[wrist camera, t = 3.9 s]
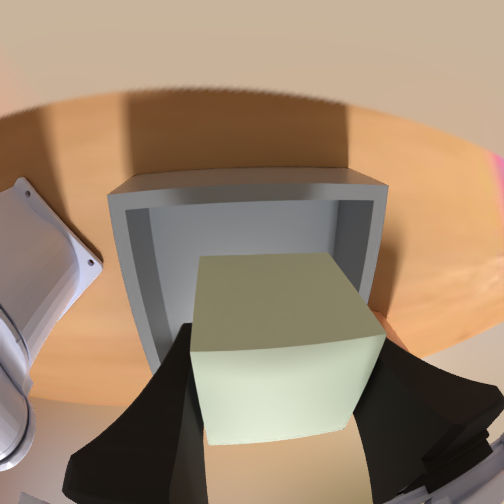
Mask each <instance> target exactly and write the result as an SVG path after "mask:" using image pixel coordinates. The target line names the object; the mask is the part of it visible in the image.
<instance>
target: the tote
mask: <svg viewBox="0 0 504 504" xmlns="http://www.w3.org/2000/svg"><path fill="white" fill-rule="evenodd" d="M387 195H388V185H386V184H384V183H382V182H380V181H377V180H375V179H373V178H371V177H368V176H366V175H364V174H361V173H359V172H357V171H354V170H352V169H349V168H332V167H237V168H214V169H197V170H183V171H171V172H160V173H150V174H140V175H135V176H133V177H132V178H130V179H129V180H127V181H126V182H125V183H123V184H122V185H120V186H119V187H118V188H116V189H115V190H113V191H112V192H111V193H109V194H108V195H107V198H108V204H109V211H110V217H111V223H112V228H113V233H114V239H115V244H116V249H117V253H118V258H119V263H120V267H121V271H122V276H123V280H124V284H125V288H126V292H127V295H128V299H129V303H130V306H131V310H132V314H133V317H134V320H135V324H136V327H137V330H138V333H139V337H140V340H141V343H142V346H143V349H144V352H145V355H146V358H147V361H148V364H149V366H150V369H151V372H152V375H154V374H155V372H156V371H157V369H158V368H159V366H160V365H161V363H162V362H163V360H164V358H165V356H166V355H167V353H168V351H169V350H170V348H171V346H172V344H173V342H174V340H175V338H176V336H177V334H178V332H179V330H180V327H181V325H182V324H183V323H192V322H193V312H194V302H195V292H196V283H197V274H198V266H199V258H200V256H221V255H255V254H289V253H322V252H328V253H329V254H330V256H331V257H332V258H333V260H334V261H335V262H336V264H337V265H338V266H339V268H340V269H341V270H342V272H343V273H344V274H345V276H346V277H347V278H348V280H349V281H350V282H351V284H352V285H353V286H354V288H355V289H356V290H357V292H358V293H359V295H360V296H361V297H362V299H363V300H364V301H365V303H366V304H368V300H369V296H370V291H371V287H372V283H373V278H374V273H375V268H376V264H377V258H378V253H379V248H380V242H381V236H382V230H383V224H384V217H385V210H386V203H387Z"/></svg>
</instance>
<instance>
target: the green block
mask: <svg viewBox="0 0 504 504" xmlns="http://www.w3.org/2000/svg"><path fill="white" fill-rule="evenodd" d="M386 335H387V333H386V331H385V330H384V328H383V327H382V325H381V324H380V323H379V321H378V320H377V318H376V317H375V315H374V314H373V313H372V311H371V310H370V308H369V307H368V306H367V304H366V303H365V301H364V300H363V299H362V297H361V296H360V295H359V293H358V292H357V290H356V289H355V288H354V286H353V285H352V284H351V282H350V281H349V280H348V278H347V277H346V276H345V274H344V273H343V272H342V270H341V269H340V268H339V266H338V265H337V264H336V262H335V261H334V260H333V258H332V257H331V256H330V254H329V253H328V252H322V253H289V254H255V255H221V256H200V258H199V266H198V274H197V283H196V292H195V302H194V312H193V322H192V333H191V345H190V355H191V361H192V367H193V372H194V378H195V383H196V388H197V393H198V398H199V403H200V408H201V413H202V417H203V422H204V426H205V431H206V435H207V439H208V443H209V445H229V444H246V443H258V442H270V441H278V440H286V439H294V438H300V437H306V436H312V435H318V434H323V433H328V432H333V431H338V430H342V429H344V428H345V426H346V424H347V422H348V420H349V418H350V416H351V414H352V413H353V411H354V409H355V407H356V405H357V403H358V401H359V399H360V396H361V394H362V392H363V390H364V388H365V386H366V384H367V381H368V379H369V377H370V375H371V372H372V370H373V368H374V365H375V363H376V361H377V358H378V356H379V353H380V351H381V348H382V346H383V343H384V341H385V338H386Z"/></svg>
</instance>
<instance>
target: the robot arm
mask: <svg viewBox="0 0 504 504" xmlns="http://www.w3.org/2000/svg"><path fill="white" fill-rule="evenodd" d="M28 191H29V192H30V196H29V195H28ZM90 259H91V260H93V262H94V264H93V263H91V262H90ZM103 268H104V265H103V263H102V262H101V260H100V259H98V258H97V257H96V256H95V255H94V254H93V253H92V252H91V251H90V250H89V249H88V248H87V247H86V246H85V245H84V244H83V243H82V241H81V240H80V239H79V238H78V237H77V236H76V235H75V234H74V233H73V232H72V231H71V230H70V229H69V228H68V227H67V226H66V225H65V224H64V223H63V221H62V220H61V219H60V218H59V217H58V216H57V215H56V214H55V213H54V211H53V210H52V209H51V208H50V207H49V206H48V205H47V203H46V202H45V201H44V200H43V199H42V198H41V197H40V195H39V194H38V193H37V192H36V191H35V189H34V188H33V187H32V186H31V185H30V183H29V182H28V181H27V180H26V178H24V177H20V178H18V179H17V181H16V182H15V184H14V186H13V187H11V188H9V189H6V190H4V191H2V192H0V471H4V470H7V469H9V468H12V467H14V466H15V465H16V464H18V463H19V462H20V461H21V460H22V459H23V458H24V457H25V455H26V454H27V452H28V451H29V449H30V447H31V444H32V442H33V439H34V436H35V430H36V416H35V412H34V408H33V406H32V404H31V402H30V400H29V399H28V398H27V396H28V394H29V392H30V390H31V387H32V385H33V381H32V380H31V378H30V376H29V370H30V368H31V366H32V364H33V362H34V361H35V359H36V357H37V355H38V353H39V351H40V350H41V348H42V346H43V344H44V342H45V341H46V339H47V337H48V335H49V334H50V332H51V330H52V329H53V327H54V325H55V324H56V322H57V320H60V318H61V317H62V316H63V315H64V314H65V312H66V311H67V310H68V309H69V308H70V307H71V305H72V304H73V303H74V302H75V301H76V300H77V298H78V297H79V296H80V295H81V294H82V293H83V292H84V290H85V289H86V288H87V287H88V286H89V285H90V284H91V283H92V281H93V280H94V279H95V278H96V277H97V276H98V275H99V274H100V273H101V271H102V270H103ZM191 333H192V323H183V324H182V325H181V327H180V330H179V332H178V334H177V336H176V338H175V340H174V342H173V344H172V346H171V348H170V350H169V351H168V353H167V355H166V356H165V358H164V360H163V362H162V363H161V365H160V366H159V368H158V369H157V371H156V372H155V374H154V375H153V377H152V378H151V380H150V381H149V383H148V384H147V385H146V387H145V388H144V389H143V391H142V392H141V393H140V394H139V396H138V397H137V398H136V399H135V401H134V402H133V403H132V404H131V405H130V406H129V407H128V408H127V409H126V411H125V412H124V413H123V414H122V415H121V416H120V417H119V418H118V419H117V420H116V421H115V422H114V423H112V424H111V425H110V426H109V427H108V428H107V429H106V430H105V431H103V432H102V433H101V434H100V435H99V436H98V437H96V438H95V439H94V440H92V441H91V442H90V443H88V444H87V445H85V446H84V447H83V448H81V449H80V450H78V451H77V452H76V453H74V454H73V455H71V457H70V460H69V462H68V465H67V469H66V473H65V478H64V482H63V488H62V492H63V493H64V495H65V496H66V497H68V498H69V499H70V500H72V501H74V502H75V503H77V504H208V496H207V486H206V475H205V462H204V446H203V429H204V422H203V417H202V413H201V408H200V403H199V398H198V393H197V388H196V383H195V378H194V372H193V367H192V361H191V355H190V345H191ZM503 409H504V396H503V395H502V393H501V392H500V391H499V389H498V387H497V386H494V385H489V384H485V383H480V382H476V381H472V380H469V379H466V378H462V377H459V376H456V375H454V374H451V373H449V372H446V371H444V370H442V369H439V368H437V367H435V366H433V365H430V364H428V363H427V362H425V361H423V360H421V359H419V358H417V357H416V356H414V355H412V354H411V353H409V352H407V351H406V350H404V349H403V348H401V347H400V346H398V345H397V344H395V343H394V342H392V341H391V340H389V339H388V338H387V337H386V338H385V341H384V343H383V346H382V348H381V351H380V353H379V356H378V358H377V361H376V363H375V365H374V368H373V370H372V372H371V375H370V377H369V379H368V381H367V384H366V386H365V388H364V390H363V392H362V394H361V396H360V399H359V401H358V403H357V405H356V407H355V409H354V411H353V415H354V417H355V420H356V423H357V427H358V430H359V434H360V437H361V440H362V444H363V449H364V452H365V456H366V461H367V466H368V471H369V477H370V483H371V490H372V499H373V504H422V503H424V502H425V503H424V504H501V503H502V502H503V501H504V433H503V434H502V435H501V436H500V438H498V439H497V440H496V441H494V442H493V443H492V444H490V445H489V443H488V442H487V440H486V438H488V437H489V433H488V431H487V428H488V427H489V426H490V425H491V424H492V422H493V421H494V420H495V419H496V418H497V417H498V416H499V415H500V413H501V412H502V411H503ZM18 504H49V503H47V502H45V501H42V500H39V499H37V498H35V497H33V496H30V495H28V494H26V493H24V492H21V493H20V498H19V503H18Z"/></svg>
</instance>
